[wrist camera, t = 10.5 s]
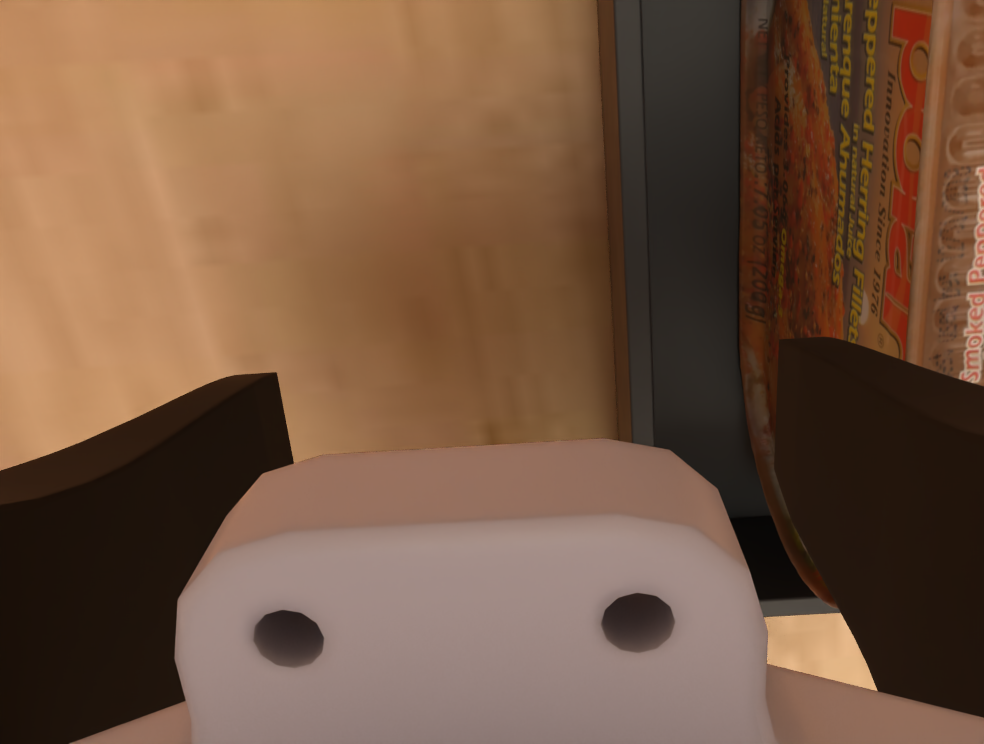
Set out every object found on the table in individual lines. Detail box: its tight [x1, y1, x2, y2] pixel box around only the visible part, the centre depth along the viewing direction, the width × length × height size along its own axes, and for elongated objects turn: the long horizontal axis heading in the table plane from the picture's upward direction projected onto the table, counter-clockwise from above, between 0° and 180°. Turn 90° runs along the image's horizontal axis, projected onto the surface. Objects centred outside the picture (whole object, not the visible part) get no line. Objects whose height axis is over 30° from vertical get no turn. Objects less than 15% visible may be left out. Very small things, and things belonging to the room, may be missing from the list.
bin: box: [597, 0, 841, 617], centre depth 19 cm, size 18×8×4 cm, turn 6°
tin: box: [739, 0, 984, 609], centre depth 16 cm, size 15×3×8 cm, turn 5°
